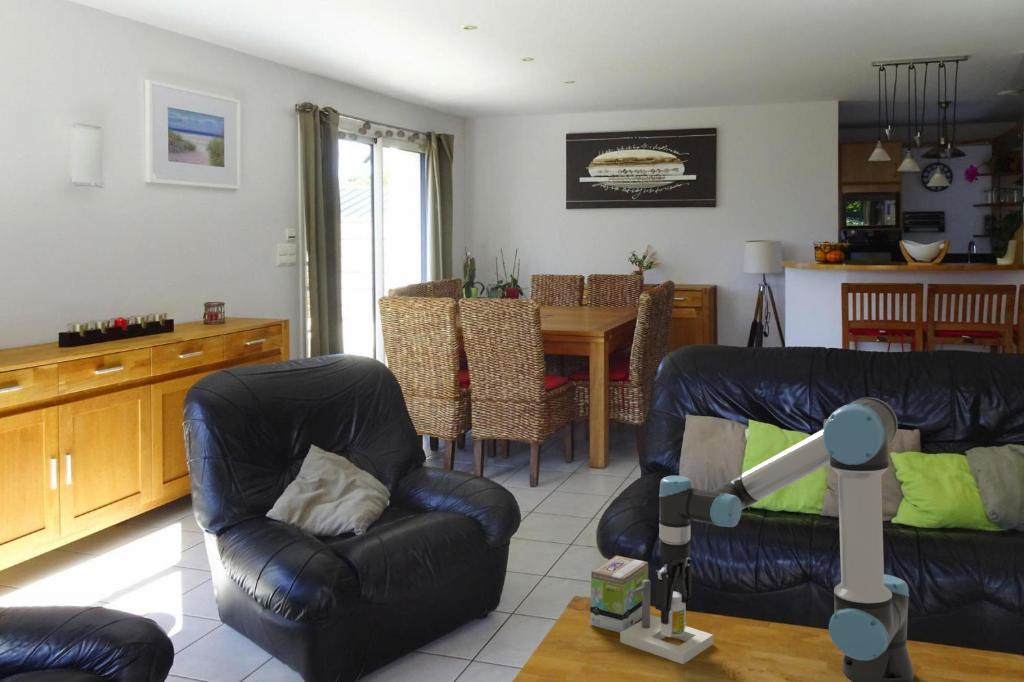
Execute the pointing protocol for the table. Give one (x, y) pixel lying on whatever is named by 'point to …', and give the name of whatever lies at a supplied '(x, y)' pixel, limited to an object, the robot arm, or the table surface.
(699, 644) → the white square-hole base
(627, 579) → the tea box
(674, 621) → the supplement bottle
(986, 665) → the table surface
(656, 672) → the table surface
